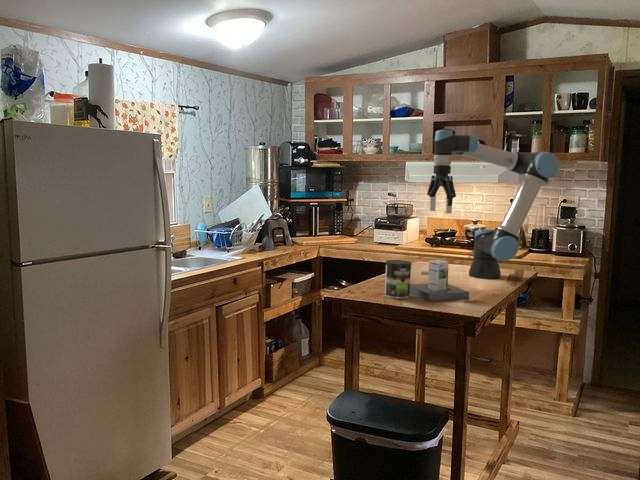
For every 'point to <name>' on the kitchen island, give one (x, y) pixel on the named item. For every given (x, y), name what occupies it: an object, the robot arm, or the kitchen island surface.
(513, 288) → the kitchen island surface
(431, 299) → the square hole plate
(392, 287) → the coffee can
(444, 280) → the syrup box
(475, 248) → the robot arm
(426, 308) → the kitchen island surface
